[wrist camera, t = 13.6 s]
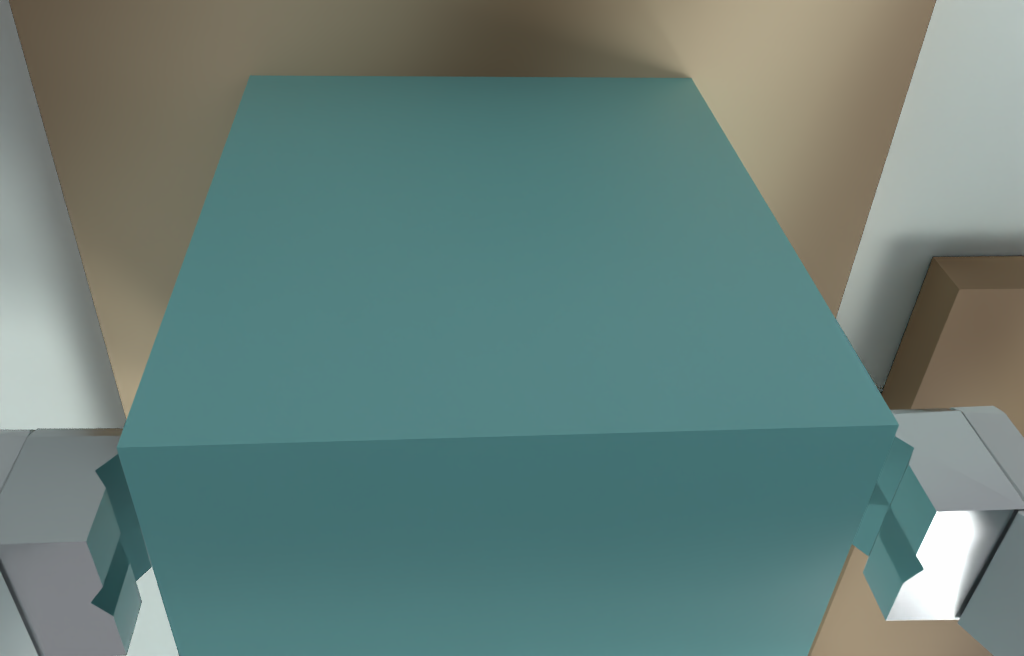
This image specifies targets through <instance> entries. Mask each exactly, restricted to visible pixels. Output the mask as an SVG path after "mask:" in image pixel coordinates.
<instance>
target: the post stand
mask: <svg viewBox="0 0 1024 656" xmlns="http://www.w3.org/2000/svg"><path fill="white" fill-rule="evenodd" d="M881 395H882V397H883V399H884V400H885V402H886V404H887V405H888V407H889V409H890V410H900V409H931V408H947V409H949V408H952V407H975V406H995V407H996V408H998V409H1000V410H1001V411H1003V412H1004V413H1005V414H1006V415H1007V416H1008V418H1009V419H1010V420H1011V422H1012V423H1013V424H1014V426H1015V427H1016V428H1017V430H1018V431H1019V432H1020V434H1021V435H1022V436H1023V438H1024V256H978V257H933V258H932V261H931V264H930V266H929V269H928V272H927V274H926V277H925V280H924V282H923V285H922V288H921V290H920V293H919V296H918V298H917V301H916V304H915V306H914V309H913V312H912V314H911V317H910V320H909V322H908V325H907V328H906V330H905V333H904V336H903V338H902V341H901V344H900V346H899V349H898V352H897V354H896V357H895V360H894V362H893V365H892V367H891V370H890V373H889V375H888V378H887V381H886V383H885V386H884V389H883V391H882V394H881ZM867 559H868V556H867V555H866V554H864V553H863V552H862V551H860V550H859V549H858V548H856V547H855V546H854V545H851V548H850V550H849V553H848V555H847V558H846V560H845V563H844V565H843V568H842V570H841V573H840V575H839V578H838V580H837V583H836V585H835V588H834V590H833V593H832V595H831V598H830V600H829V603H828V605H827V608H826V610H825V613H824V616H823V618H822V621H821V623H820V626H819V628H818V631H817V633H816V636H815V638H814V641H813V643H812V646H811V648H810V651H809V653H808V656H993V655H992V654H991V653H990V652H989V651H988V650H987V649H986V648H985V647H983V646H982V645H981V644H980V643H979V642H978V641H977V640H976V639H974V638H973V637H972V636H971V635H970V634H969V633H968V632H967V631H966V630H964V629H963V628H962V627H961V626H960V625H959V624H958V621H959V620H905V621H886V620H885V618H884V616H883V614H882V612H881V610H880V608H879V606H878V604H877V601H876V599H875V597H874V595H873V593H872V591H871V589H870V587H869V585H868V583H867V581H866V578H865V576H864V574H863V570H864V567H865V565H866V562H867Z"/></svg>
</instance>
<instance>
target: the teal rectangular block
mask: <svg viewBox="0 0 1024 656" xmlns="http://www.w3.org/2000/svg"><path fill="white" fill-rule="evenodd" d="M898 427H899V424H898V422H897V420H896V419H895V417H894V415H893V414H892V412H891V410H890V409H889V407H888V405H887V404H886V402H885V400H884V399H883V397H882V395H881V394H880V392H879V390H878V389H877V387H876V385H875V384H874V382H873V380H872V379H871V377H870V375H869V374H868V372H867V370H866V369H865V367H864V365H863V364H862V362H861V360H860V359H859V357H858V355H857V354H856V352H855V350H854V349H853V347H852V345H851V344H850V342H849V340H848V339H847V337H846V335H845V334H844V332H843V330H842V329H841V327H840V325H839V324H838V322H837V320H836V319H835V317H834V315H833V314H832V312H831V310H830V309H829V307H828V305H827V304H826V302H825V300H824V299H823V297H822V295H821V294H820V292H819V290H818V289H817V287H816V285H815V284H814V282H813V280H812V279H811V277H810V275H809V273H808V272H807V270H806V268H805V267H804V265H803V263H802V262H801V260H800V258H799V257H798V255H797V253H796V252H795V250H794V248H793V247H792V245H791V243H790V242H789V240H788V238H787V237H786V235H785V233H784V232H783V230H782V228H781V227H780V225H779V223H778V222H777V220H776V218H775V217H774V215H773V213H772V212H771V210H770V208H769V207H768V205H767V203H766V202H765V200H764V198H763V197H762V195H761V193H760V192H759V190H758V188H757V187H756V185H755V183H754V182H753V180H752V178H751V177H750V175H749V173H748V172H747V170H746V168H745V167H744V165H743V163H742V162H741V160H740V158H739V157H738V155H737V153H736V152H735V150H734V148H733V147H732V145H731V143H730V142H729V140H728V138H727V137H726V135H725V133H724V132H723V130H722V128H721V127H720V125H719V123H718V122H717V120H716V118H715V117H714V115H713V113H712V112H711V110H710V108H709V107H708V105H707V103H706V102H705V100H704V98H703V97H702V95H701V93H700V92H699V90H698V88H697V87H696V85H695V83H694V82H693V80H692V78H610V77H435V76H261V75H250V76H249V79H248V82H247V85H246V88H245V90H244V93H243V96H242V99H241V101H240V104H239V107H238V110H237V113H236V115H235V118H234V121H233V124H232V127H231V129H230V132H229V135H228V138H227V141H226V143H225V146H224V149H223V152H222V155H221V157H220V160H219V163H218V166H217V169H216V171H215V174H214V177H213V180H212V182H211V185H210V188H209V191H208V194H207V196H206V199H205V202H204V205H203V208H202V210H201V213H200V216H199V219H198V222H197V224H196V227H195V230H194V233H193V236H192V238H191V241H190V244H189V247H188V249H187V252H186V255H185V258H184V261H183V263H182V266H181V269H180V272H179V275H178V277H177V280H176V283H175V286H174V289H173V291H172V294H171V297H170V300H169V303H168V305H167V308H166V311H165V314H164V317H163V319H162V322H161V325H160V328H159V330H158V333H157V336H156V339H155V342H154V344H153V347H152V350H151V353H150V356H149V358H148V361H147V364H146V367H145V370H144V372H143V375H142V378H141V381H140V384H139V386H138V389H137V392H136V395H135V398H134V400H133V403H132V406H131V409H130V411H129V414H128V417H127V420H126V423H125V425H124V428H123V431H122V434H121V437H120V439H119V442H118V445H117V451H118V454H119V458H120V461H121V464H122V468H123V471H124V474H125V478H126V481H127V484H128V487H129V491H130V494H131V497H132V501H133V504H134V507H135V511H136V514H137V517H138V521H139V524H140V527H141V531H142V534H143V537H144V540H145V544H146V547H147V550H148V554H149V557H150V560H151V564H152V567H153V570H154V574H155V577H156V580H157V583H158V587H159V590H160V593H161V597H162V600H163V603H164V607H165V610H166V613H167V617H168V620H169V623H170V627H171V630H172V633H173V636H174V640H175V643H176V646H177V650H178V653H179V656H808V653H809V651H810V648H811V646H812V643H813V641H814V638H815V636H816V633H817V631H818V628H819V626H820V623H821V621H822V618H823V616H824V613H825V610H826V608H827V605H828V603H829V600H830V598H831V595H832V593H833V590H834V588H835V585H836V583H837V580H838V578H839V575H840V573H841V570H842V568H843V565H844V563H845V560H846V558H847V555H848V553H849V550H850V548H851V545H852V543H853V540H854V537H855V535H856V532H857V530H858V527H859V525H860V522H861V520H862V517H863V515H864V512H865V510H866V507H867V505H868V502H869V500H870V497H871V495H872V492H873V490H874V487H875V485H876V482H877V480H878V477H879V475H880V472H881V470H882V467H883V464H884V462H885V459H886V457H887V454H888V452H889V449H890V447H891V444H892V442H893V439H894V437H895V434H896V432H897V429H898Z"/></svg>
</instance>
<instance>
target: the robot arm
mask: <svg viewBox="0 0 1024 656" xmlns="http://www.w3.org/2000/svg"><path fill="white" fill-rule="evenodd" d="M891 412H892V414H893V415H894V417H895V419H896V420H897V422H898V424H899V427H898V429H897V432H896V434H895V437H894V439H893V442H892V444H891V447H890V449H889V452H888V454H887V457H886V459H885V462H884V464H883V467H882V470H881V472H880V475H879V477H878V480H877V482H876V485H875V487H874V490H873V492H872V495H871V497H870V500H869V502H868V505H867V507H866V510H865V512H864V515H863V517H862V520H861V522H860V525H859V527H858V530H857V532H856V535H855V537H854V540H853V543H852V545H854V546H855V547H856V548H858V549H859V550H860V551H862V552H863V553H864V554H866V555H867V556H868V559H867V562H866V565H865V567H864V570H863V574H864V576H865V578H866V581H867V583H868V585H869V587H870V589H871V591H872V593H873V595H874V597H875V599H876V601H877V604H878V606H879V608H880V610H881V612H882V614H883V616H884V618H885V620H886V621H905V620H959V621H958V624H959V625H960V626H961V627H962V628H963V629H964V630H966V631H967V632H968V633H969V634H970V635H971V636H972V637H973V638H974V639H976V640H977V641H978V642H979V643H980V644H981V645H982V646H983V647H985V648H986V649H987V650H988V651H989V652H990V653H991V654H992V655H993V656H1024V438H1023V436H1022V435H1021V434H1020V432H1019V431H1018V430H1017V428H1016V427H1015V426H1014V424H1013V423H1012V422H1011V420H1010V419H1009V418H1008V416H1007V415H1006V414H1005V413H1004V412H1003V411H1001V410H1000V409H998V408H996V407H995V406H975V407H952V408H949V409H947V408H931V409H900V410H891ZM122 431H123V428H107V429H36V430H0V656H123V655H127V652H128V648H129V645H130V641H131V638H132V634H133V631H134V627H135V624H136V620H137V617H138V613H139V610H140V606H141V603H142V600H141V597H140V594H139V591H138V587H137V584H136V581H137V580H138V579H139V578H140V577H141V576H142V575H143V574H144V573H146V572H147V571H148V570H149V569H150V568H151V567H152V564H151V560H150V557H149V554H148V550H147V547H146V544H145V540H144V537H143V534H142V531H141V527H140V524H139V521H138V517H137V514H136V511H135V507H134V504H133V501H132V497H131V494H130V491H129V487H128V484H127V481H126V478H125V474H124V471H123V468H122V464H121V461H120V458H119V454H118V451H117V445H118V442H119V439H120V437H121V434H122Z"/></svg>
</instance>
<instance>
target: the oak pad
mask: <svg viewBox="0 0 1024 656" xmlns="http://www.w3.org/2000/svg"><path fill="white" fill-rule="evenodd" d="M9 3H10V7H11V10H12V14H13V18H14V21H15V25H16V28H17V32H18V35H19V39H20V42H21V46H22V50H23V53H24V57H25V60H26V64H27V67H28V71H29V74H30V78H31V82H32V85H33V89H34V92H35V96H36V99H37V103H38V107H39V110H40V114H41V117H42V121H43V124H44V128H45V131H46V135H47V139H48V142H49V146H50V149H51V153H52V156H53V160H54V163H55V167H56V171H57V174H58V178H59V181H60V185H61V188H62V192H63V196H64V199H65V203H66V206H67V210H68V213H69V217H70V220H71V224H72V228H73V231H74V235H75V238H76V242H77V245H78V249H79V253H80V256H81V260H82V263H83V267H84V270H85V274H86V277H87V281H88V285H89V288H90V292H91V295H92V299H93V302H94V306H95V309H96V313H97V317H98V320H99V324H100V327H101V331H102V334H103V338H104V342H105V345H106V349H107V352H108V356H109V359H110V363H111V366H112V370H113V374H114V377H115V381H116V384H117V388H118V391H119V395H120V398H121V402H122V406H123V409H124V413H125V416H126V420H127V417H128V414H129V411H130V409H131V406H132V403H133V400H134V398H135V395H136V392H137V389H138V386H139V384H140V381H141V378H142V375H143V372H144V370H145V367H146V364H147V361H148V358H149V356H150V353H151V350H152V347H153V344H154V342H155V339H156V336H157V333H158V330H159V328H160V325H161V322H162V319H163V317H164V314H165V311H166V308H167V305H168V303H169V300H170V297H171V294H172V291H173V289H174V286H175V283H176V280H177V277H178V275H179V272H180V269H181V266H182V263H183V261H184V258H185V255H186V252H187V249H188V247H189V244H190V241H191V238H192V236H193V233H194V230H195V227H196V224H197V222H198V219H199V216H200V213H201V210H202V208H203V205H204V202H205V199H206V196H207V194H208V191H209V188H210V185H211V182H212V180H213V177H214V174H215V171H216V169H217V166H218V163H219V160H220V157H221V155H222V152H223V149H224V146H225V143H226V141H227V138H228V135H229V132H230V129H231V127H232V124H233V121H234V118H235V115H236V113H237V110H238V107H239V104H240V101H241V99H242V96H243V93H244V90H245V88H246V85H247V82H248V79H249V76H250V75H261V76H435V77H610V78H692V80H693V82H694V83H695V85H696V87H697V88H698V90H699V92H700V93H701V95H702V97H703V98H704V100H705V102H706V103H707V105H708V107H709V108H710V110H711V112H712V113H713V115H714V117H715V118H716V120H717V122H718V123H719V125H720V127H721V128H722V130H723V132H724V133H725V135H726V137H727V138H728V140H729V142H730V143H731V145H732V147H733V148H734V150H735V152H736V153H737V155H738V157H739V158H740V160H741V162H742V163H743V165H744V167H745V168H746V170H747V172H748V173H749V175H750V177H751V178H752V180H753V182H754V183H755V185H756V187H757V188H758V190H759V192H760V193H761V195H762V197H763V198H764V200H765V202H766V203H767V205H768V207H769V208H770V210H771V212H772V213H773V215H774V217H775V218H776V220H777V222H778V223H779V225H780V227H781V228H782V230H783V232H784V233H785V235H786V237H787V238H788V240H789V242H790V243H791V245H792V247H793V248H794V250H795V252H796V253H797V255H798V257H799V258H800V260H801V262H802V263H803V265H804V267H805V268H806V270H807V272H808V273H809V275H810V277H811V279H812V280H813V282H814V284H815V285H816V287H817V289H818V290H819V292H820V294H821V295H822V297H823V299H824V300H825V302H826V304H827V305H828V307H829V309H830V310H831V312H832V314H833V315H834V317H835V319H836V316H837V313H838V310H839V307H840V303H841V300H842V297H843V294H844V291H845V288H846V284H847V281H848V278H849V275H850V272H851V269H852V265H853V262H854V259H855V256H856V253H857V250H858V246H859V243H860V240H861V237H862V234H863V231H864V227H865V224H866V221H867V218H868V215H869V212H870V208H871V205H872V202H873V199H874V196H875V193H876V189H877V186H878V183H879V180H880V177H881V174H882V170H883V167H884V164H885V161H886V158H887V155H888V151H889V148H890V145H891V142H892V139H893V136H894V132H895V129H896V126H897V123H898V120H899V117H900V113H901V110H902V107H903V104H904V101H905V98H906V94H907V91H908V88H909V85H910V82H911V79H912V75H913V72H914V69H915V66H916V63H917V60H918V56H919V53H920V50H921V47H922V44H923V41H924V37H925V34H926V31H927V28H928V25H929V22H930V18H931V15H932V12H933V9H934V6H935V3H936V0H9Z"/></svg>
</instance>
